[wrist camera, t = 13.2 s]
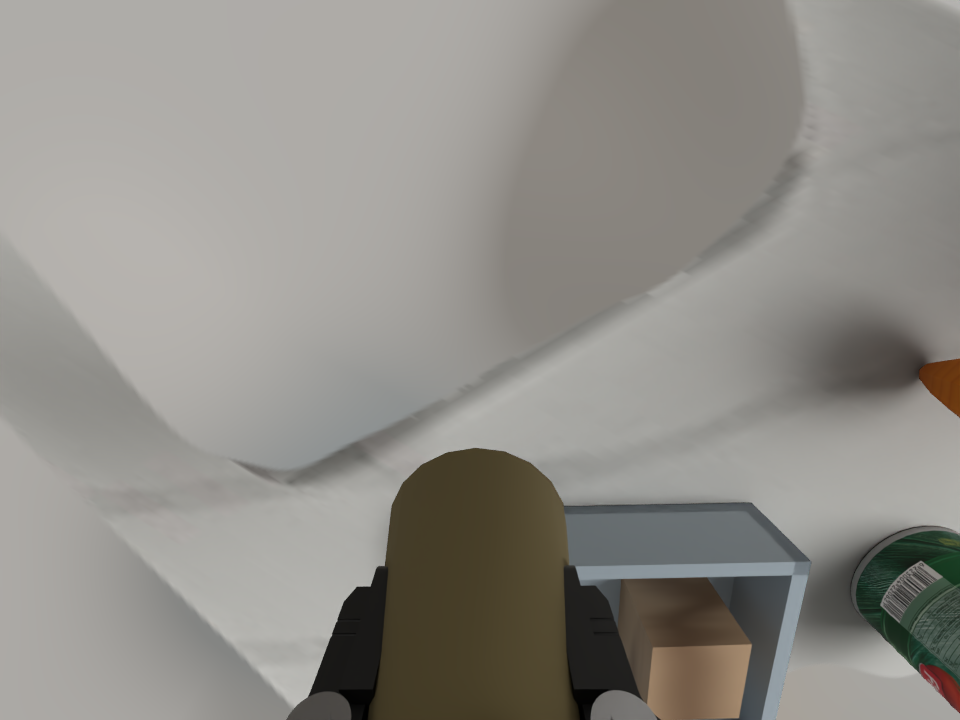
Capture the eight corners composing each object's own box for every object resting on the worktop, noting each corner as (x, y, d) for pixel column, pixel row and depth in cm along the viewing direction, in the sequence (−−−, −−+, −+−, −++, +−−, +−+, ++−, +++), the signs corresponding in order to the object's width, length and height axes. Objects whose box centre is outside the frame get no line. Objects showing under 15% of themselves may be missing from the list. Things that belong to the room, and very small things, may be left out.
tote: (751, 502, 27) (811, 561, 22) (721, 676, 31) (767, 758, 26) (458, 508, 27) (455, 568, 22) (464, 682, 31) (462, 766, 26)
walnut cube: (703, 572, 27) (751, 644, 23) (694, 636, 29) (738, 717, 24) (621, 574, 27) (652, 647, 23) (616, 639, 29) (645, 721, 24)
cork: (361, 479, 15) (62, 1093, 4) (536, 424, 14) (687, 982, 4) (427, 617, 16) (326, 1313, 6) (587, 573, 16) (792, 1259, 5)
